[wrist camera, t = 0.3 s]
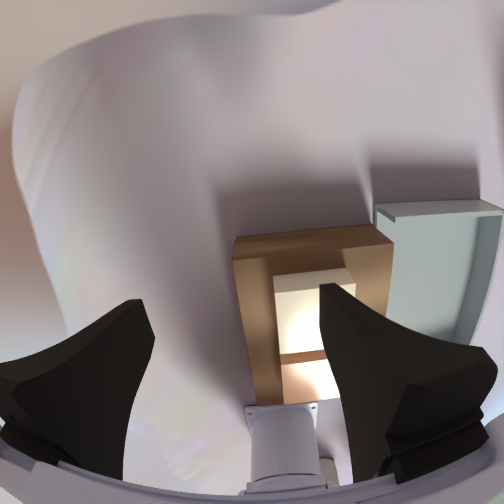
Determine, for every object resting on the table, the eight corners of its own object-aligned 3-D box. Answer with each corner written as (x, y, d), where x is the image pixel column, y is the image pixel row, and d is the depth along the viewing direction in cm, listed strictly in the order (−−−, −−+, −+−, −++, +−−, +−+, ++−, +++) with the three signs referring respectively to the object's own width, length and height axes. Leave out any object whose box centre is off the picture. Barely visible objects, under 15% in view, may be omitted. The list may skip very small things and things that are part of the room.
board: (358, 361, 25) (369, 390, 21) (257, 374, 25) (257, 406, 22) (371, 224, 20) (394, 243, 16) (236, 237, 20) (231, 260, 16)
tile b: (343, 326, 18) (350, 344, 16) (278, 334, 18) (280, 354, 17) (346, 267, 16) (355, 283, 15) (272, 275, 17) (274, 293, 15)
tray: (450, 341, 24) (464, 360, 21) (360, 364, 25) (369, 389, 22) (480, 199, 18) (505, 210, 15) (374, 204, 19) (395, 217, 16)
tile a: (337, 378, 20) (342, 396, 18) (282, 385, 21) (283, 404, 19) (342, 337, 19) (349, 355, 17) (279, 345, 19) (280, 365, 17)
